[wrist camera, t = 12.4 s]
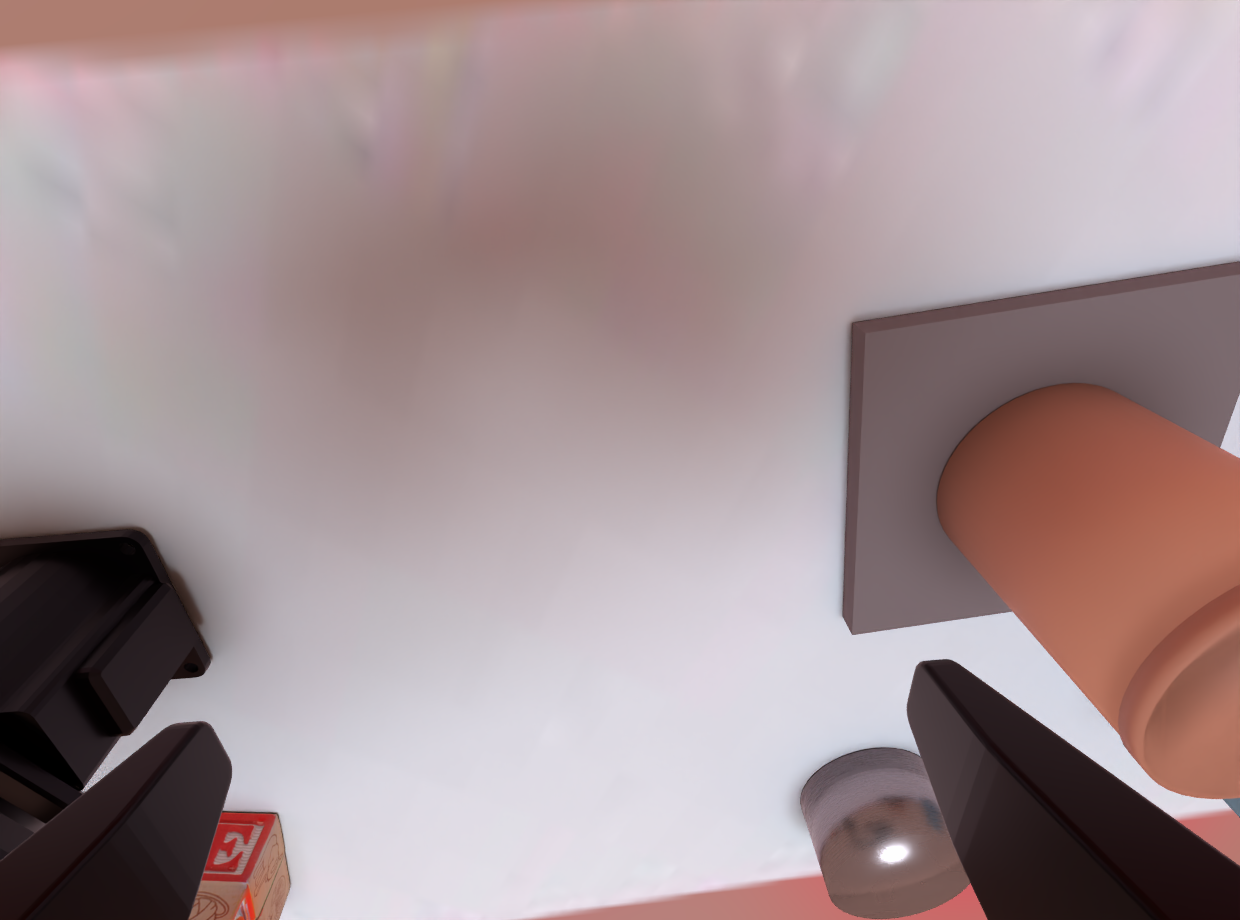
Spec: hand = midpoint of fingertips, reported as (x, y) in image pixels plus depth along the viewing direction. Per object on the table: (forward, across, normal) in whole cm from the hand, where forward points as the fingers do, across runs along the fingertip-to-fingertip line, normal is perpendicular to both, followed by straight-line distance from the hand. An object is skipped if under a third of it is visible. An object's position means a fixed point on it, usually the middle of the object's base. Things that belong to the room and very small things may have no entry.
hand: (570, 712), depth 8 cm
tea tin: (+13, -12, +23) cm, 29 cm away
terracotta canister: (+12, -15, +5) cm, 20 cm away
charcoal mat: (+13, -15, +5) cm, 20 cm away
